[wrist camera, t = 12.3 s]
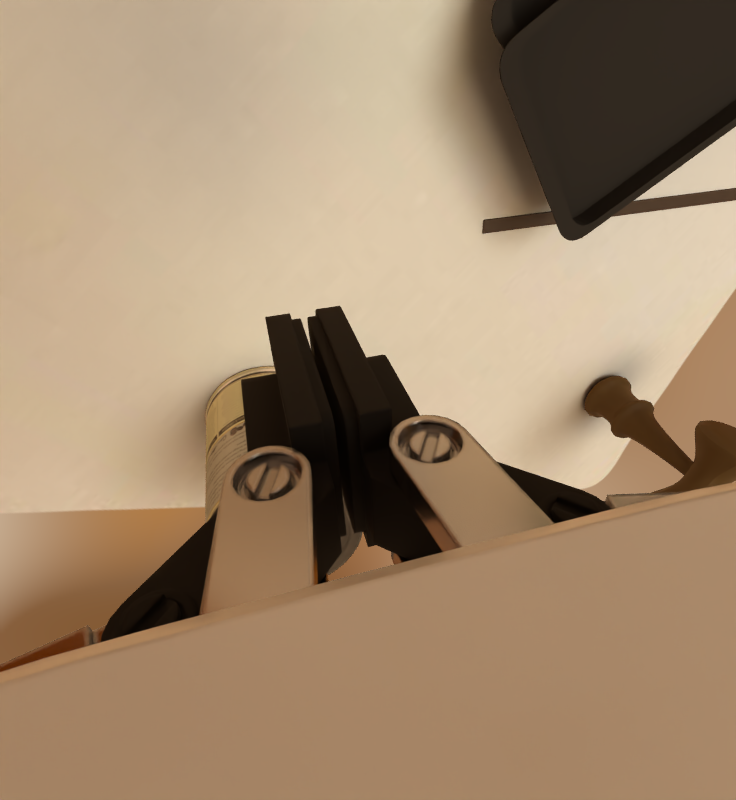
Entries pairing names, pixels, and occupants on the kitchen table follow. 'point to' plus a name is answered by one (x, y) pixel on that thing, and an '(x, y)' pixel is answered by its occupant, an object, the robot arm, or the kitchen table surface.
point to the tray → (615, 94)
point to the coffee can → (242, 449)
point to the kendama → (666, 436)
